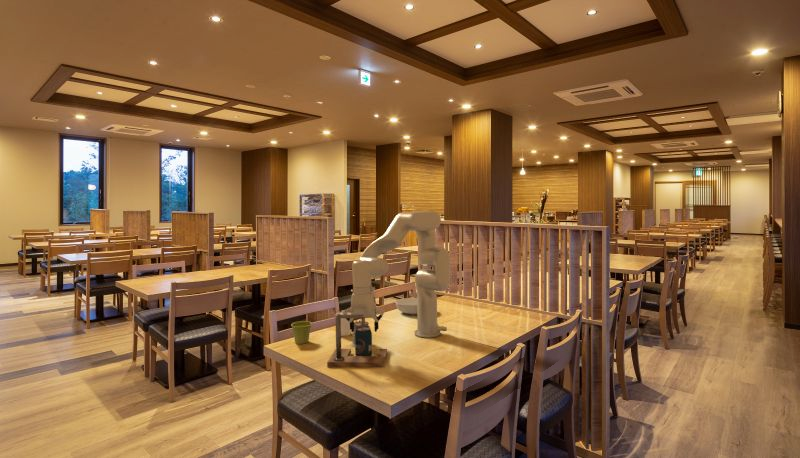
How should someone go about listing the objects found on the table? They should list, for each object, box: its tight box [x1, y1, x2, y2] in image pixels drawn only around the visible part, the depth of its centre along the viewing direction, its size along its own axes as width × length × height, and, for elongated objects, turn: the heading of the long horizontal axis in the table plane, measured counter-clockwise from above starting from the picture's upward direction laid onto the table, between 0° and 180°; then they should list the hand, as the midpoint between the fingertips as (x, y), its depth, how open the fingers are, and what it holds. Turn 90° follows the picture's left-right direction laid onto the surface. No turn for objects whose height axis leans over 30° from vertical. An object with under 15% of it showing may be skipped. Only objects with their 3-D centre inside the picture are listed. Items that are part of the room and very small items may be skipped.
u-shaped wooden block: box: [326, 348, 388, 368], centre depth 176 cm, size 22×16×2 cm
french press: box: [350, 319, 371, 349], centre depth 194 cm, size 10×12×25 cm
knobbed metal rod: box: [334, 313, 366, 361], centre depth 171 cm, size 13×4×18 cm, turn 87°
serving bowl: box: [395, 297, 417, 316], centre depth 253 cm, size 21×21×7 cm
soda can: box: [354, 327, 373, 356], centre depth 179 cm, size 7×7×12 cm
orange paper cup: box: [335, 311, 352, 337], centre depth 212 cm, size 8×8×10 cm
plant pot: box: [290, 320, 313, 345], centre depth 201 cm, size 9×9×9 cm
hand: (364, 330), depth 179 cm, fingers open, 9 cm apart
